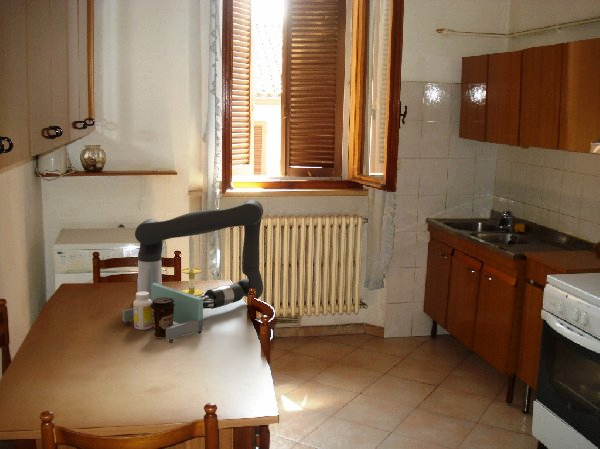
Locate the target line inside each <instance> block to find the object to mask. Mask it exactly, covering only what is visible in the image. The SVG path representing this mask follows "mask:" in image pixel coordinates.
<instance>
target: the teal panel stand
mask: <svg viewBox="0 0 600 449" xmlns="http://www.w3.org/2000/svg"><path fill="white" fill-rule="evenodd" d="M151 286H152V303H153V300H154V299H156V298H162V297H168V298H172V299H173V300H174V302H173V303H174V304H175V306H174V317H173V323H176V324H173V326H171V327H167V328H166V338H165V340H166V341H168V342H169V343H173V342H174V339H177V338H181V337H184V336H187V335H190V334H194V333H197V334H199V335H202V333H203V330H204V309H203V298H200V297H198V296H194V295H191V294H188V293H185V292H182V290H178V289H177V288H176V289H175V288H172V287H169V286H167V285H163V284H162V285H160V284H157V283H154V284H151ZM121 312H122V313H121V316H122V319H121V321H122V322H124V324H125V325H127V326H128V325H129V324H130V323H131V322H130V321H134V310H133V307H131V308H126V309H123V310H121Z"/></svg>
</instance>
